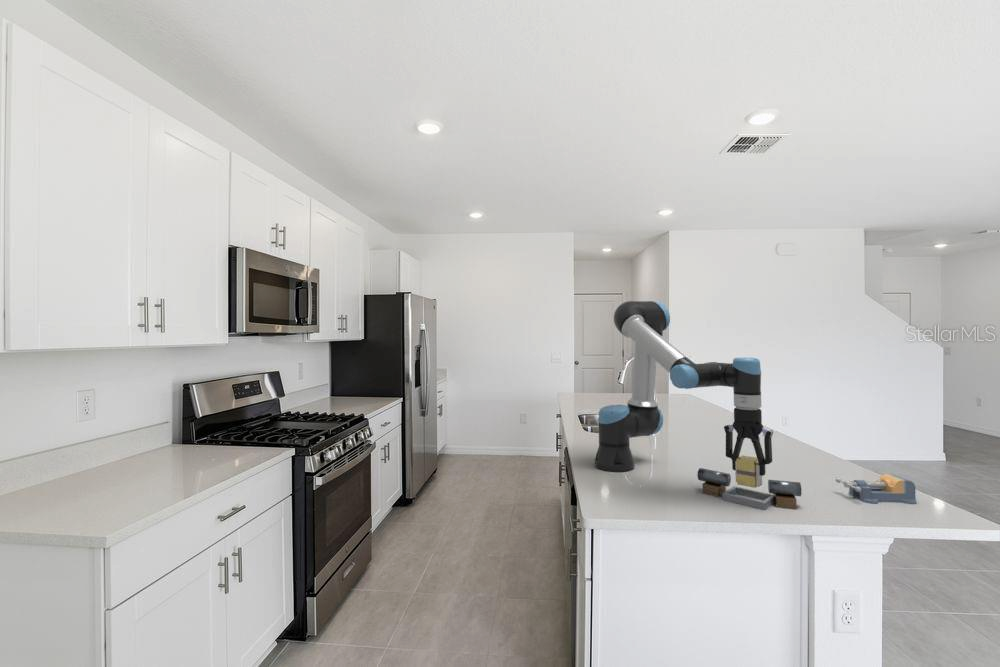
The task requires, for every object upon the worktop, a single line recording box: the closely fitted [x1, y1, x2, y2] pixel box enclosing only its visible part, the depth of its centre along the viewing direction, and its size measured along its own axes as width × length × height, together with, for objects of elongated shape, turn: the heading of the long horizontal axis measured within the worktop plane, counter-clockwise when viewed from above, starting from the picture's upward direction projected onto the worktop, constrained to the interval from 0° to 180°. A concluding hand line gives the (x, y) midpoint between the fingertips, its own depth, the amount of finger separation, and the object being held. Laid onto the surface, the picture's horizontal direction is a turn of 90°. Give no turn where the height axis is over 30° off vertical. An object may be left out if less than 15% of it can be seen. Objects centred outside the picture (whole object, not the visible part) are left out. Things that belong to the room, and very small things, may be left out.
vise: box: [835, 473, 918, 505], centre depth 143 cm, size 18×10×7 cm, turn 86°
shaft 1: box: [696, 467, 732, 498], centre depth 150 cm, size 9×6×7 cm, turn 43°
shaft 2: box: [767, 479, 802, 510], centre depth 139 cm, size 8×6×7 cm
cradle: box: [722, 485, 775, 511], centre depth 142 cm, size 12×10×2 cm
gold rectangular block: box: [735, 455, 759, 489], centre depth 142 cm, size 5×5×8 cm
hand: (748, 483), depth 142 cm, fingers closed on gold rectangular block, 5 cm apart
